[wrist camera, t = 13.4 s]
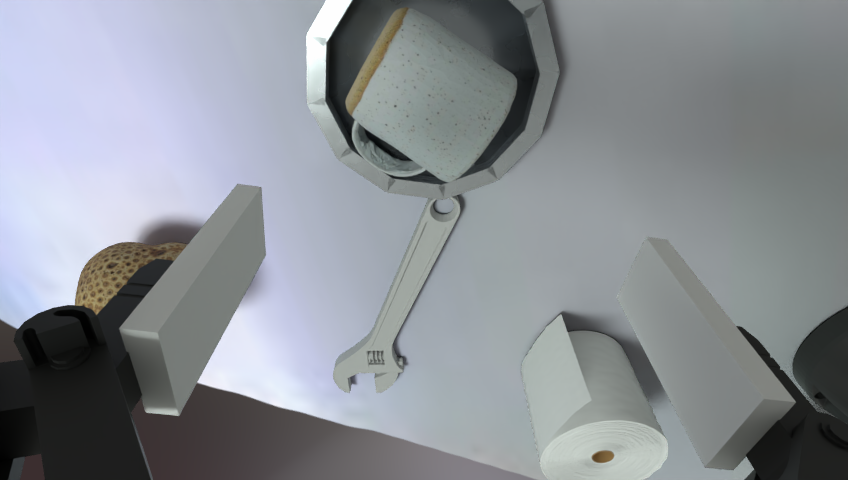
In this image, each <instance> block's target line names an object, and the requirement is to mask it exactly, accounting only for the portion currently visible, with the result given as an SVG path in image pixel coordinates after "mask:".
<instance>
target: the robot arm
mask: <svg viewBox="0 0 848 480" xmlns="http://www.w3.org/2000/svg"><path fill="white" fill-rule="evenodd" d="M265 256H266V250H265V235H264V220H263V205H262V190H261V187H257V186H249V185H242V184H237V185H236V186H235V188H234V189H233V190H232V191H231V193H230V194H229V195H228V196H227V197H226V199H225V200H224V201H223V202H222V204H221V205H220V206H219V207H218V208H217V210H216V211H215V212H214V213H213V214H212V216H211V217H210V218H209V219H208V221H207V222H206V223H205V224H204V225H203V227H202V228H201V229H200V230H199V232H198V233H197V234H196V235H195V236H194V238H193V239H192V240H191V241H190V243H189V244H188V245H187V246H186V247H185V249H184V250H183V251H182V252H181V253H180V255H179V256H178V257H177V258H176V260H175V261H173V260H165V259H155V260H153V261H151V262H150V263H148V264H146V265H144V266H143V267H141V268H139V269H138V270H137V271H136V272H135V273H134V274H133V275H132V277H131V278H130V279H129V280H128V281H127V283H126V285H123V286H122V288H121V289H120V290H119V291H118V292H117V295H116V296H115V295H114V296H113V297H112V299H111V300H110V301H109V302H108V303H107V304H106V305H105V306H104V307H103V308H102V309H101V311H100V312H99V313H98V314H97V315H96V314H95V312H94V311H93V310H92V309H90V308H87V307H84V306H76V305H67V306H61V307H56V308H52V309H49V310H46V311H44V312H41V313H38V314H36V315H35V316H33V317H32V318H30V319H29V320H27V321H25V322H24V323H23V324H22V325H21V327H20V328H19V329H18V330H17V331H16V334H15V338H14V342H15V344H16V346H17V348H18V350H19V352H20V354H21V356H22V358H23V360H17V361H10V362H2V363H0V480H20V477H21V472H22V468H23V464H24V460H25V457H26V456H30V455H36V454H41V455H42V462H43V469H44V476H45V480H153V478H152V475H151V472H150V469H149V466H148V462H147V460H146V456H145V453H144V450H143V447H142V444H141V441H140V438H139V435H138V432H137V429H136V426H135V423H134V420H133V417H132V414H131V412H132V410H133V409H134V407H135V406H136V404H137V403H138V401H139V399H140V398H142V402H143V405H144V408H145V411H146V412H148V413H158V414H168V415H178V416H179V415H180V413H181V411H182V409H183V407H184V405H185V404H186V402H187V400H188V398H189V396H190V394H191V392H192V391H193V389H194V387H195V385H196V383H197V381H198V380H199V378H200V376H201V374H202V372H203V370H204V368H205V367H206V365H207V363H208V361H209V359H210V357H211V355H212V354H213V352H214V350H215V348H216V346H217V344H218V343H219V341H220V339H221V337H222V335H223V333H224V331H225V330H226V328H227V326H228V324H229V322H230V320H231V319H232V317H233V315H234V313H235V311H236V309H237V307H238V306H239V304H240V302H241V300H242V298H243V296H244V295H245V293H246V291H247V289H248V287H249V285H250V283H251V282H252V280H253V278H254V276H255V274H256V272H257V270H258V269H259V267H260V265H261V263H262V261H263V259H264V258H265ZM617 299H618V301H619V303H620V305H621V307H622V309H623V311H624V313H625V315H626V317H627V318H628V320H629V322H630V324H631V326H632V328H633V330H634V332H635V334H636V336H637V338H638V340H639V342H640V344H641V345H642V347H643V349H644V351H645V353H646V355H647V357H648V359H649V361H650V363H651V365H652V367H653V369H654V371H655V372H656V374H657V376H658V378H659V380H660V382H661V384H662V386H663V388H664V390H665V392H666V394H667V396H668V398H669V399H670V401H671V403H672V405H673V407H674V409H675V411H676V413H677V415H678V417H679V419H680V421H681V423H682V425H683V426H684V428H685V430H686V432H687V434H688V436H689V438H690V440H691V442H692V444H693V446H694V448H695V450H696V452H697V453H698V455H699V457H700V459H701V461H702V463H703V465H704V467H705V468H715V469H725V470H734V469H735V468H736V467H737V466H738V465H739V464H740V462H741V461H742V460H743V459H744V458H745V457H746V456H747V458H748V460H749V461H750V463H751V465H752V466H753V468H754V470H753V471H752V472H751V473H750V474H749V475H748V476H747V478H746V479H745V480H848V308H847V309H845V310H843V311H841V312H839V313H838V314H836V315H834V316H833V317H831V318H830V319H828V320H827V321H826V322H824V323H823V324H822V325H820V326H819V327H818V328H817V329H816V330H815V331H813V332H812V333H811V334H810V335H809V336H808V338H807V339H806V340H805V341H804V342H803V344H802V345H801V346H800V348H799V350H798V351H797V353H796V356H795V358H794V362H793V374H794V377H795V379H796V381H797V382H798V384H799V385H800V386H801V387H802V388H803V390H804V391H805V392H806V393H807V394H808V396H809V397H810V398H811V399H812V400H813V401H814V402H815V403H816V404H818V405H819V406H820V407H822V408H823V409H825V410H826V411H828V412H829V413H831V414H832V415H834V416H835V417H837V418H835V417H833V416H831V415H829V414H825V413H820V412H817V411H816V410H815V409H814V408H813V406H812V405H811V404H810V403H809V401H808V400H807V399H806V398H805V397H804V395H803V394H802V393H801V392H800V390H799V389H798V388H797V387H796V386H795V384H794V383H793V382H792V381H791V380H790V378H789V377H788V376H787V375H786V373H785V372H784V371H783V370H780V366H779V365H778V364H777V362H776V361H775V360H774V359H773V358H770V354H769V353H768V352H767V350H766V349H765V348H764V347H763V345H762V344H761V343H760V342H759V341H758V340H757V339H756V338H755V337H753V336H752V335H751V334H750V333H748V332H747V331H746V330H745V329H743V328H742V327H739V326H735V324H734V323H733V322H732V321H731V319H730V318H729V317H728V316H727V314H726V313H725V312H724V311H723V309H722V308H721V307H720V305H719V304H718V303H717V302H716V300H715V299H714V298H713V297H712V295H711V294H710V293H709V292H708V290H707V289H706V288H705V287H704V285H703V284H702V283H701V282H700V280H699V279H698V278H697V276H696V275H695V274H694V273H693V271H692V270H691V269H690V268H689V266H688V265H687V264H686V263H685V261H684V260H683V259H682V258H681V256H680V255H679V254H678V252H677V251H676V250H675V249H674V247H673V246H672V245H671V244H670V242H669V241H668V240H666V239H658V238H650V237H646V238H645V240H644V242H643V244H642V246H641V248H640V250H639V253H638V255H637V257H636V259H635V261H634V263H633V265H632V267H631V269H630V271H629V273H628V275H627V277H626V279H625V281H624V283H623V285H622V287H621V290H620V292H619V294H618V296H617Z"/></svg>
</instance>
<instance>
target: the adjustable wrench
mask: <svg viewBox="0 0 848 480" xmlns="http://www.w3.org/2000/svg"><path fill="white" fill-rule="evenodd" d="M449 199H451V200H452V201H453V203H454V208H453V210H452V211H451V212H450V213H447V214H439V213H437V212H435V210H434V208H433V204H434V202H435V200H437V199H433V198H428V201H427V203H426V205H425V208H424V210H423V212H422V215H421V217H420V219H419V222H418V224H417V226H416V229H415V231H414V233H413V236H412V238H411V240H410V243H409V245H408V247H407V250H406V252H405V254H404V257H403V259H402V261H401V264H400V266H399V269H398V271H397V273H396V276H395V278H394V280H393V283H392V285H391V287H390V290H389V292H388V294H387V297H386V299H385V301H384V304H383V306H382V308H381V311H380V313H379V315H378V318H377V320H376V322H375V325H374V327H373V328H372V330H371V332H370V333H369V334H368V335H367V336H366V337H365V338H364V339H362V340H361V341H360V342H359V343H357V344H356V345H355V346H353V347H352V348H350V349H349V350H347V351H346V352H344V353H342V354H341V355H340V356H339V357H338V359H337V360H336V363H335V367H334V372H333V379H334V381H335V383H336V384H337V386H338V387H339V388H340V389H341V390H343V391H344V392H347V393H350V390H351V384H352V383H351V376H354V375H356V374H358V373H375V384H376V392H377V393H381V392H383V391H385V390H387V389H388V388H389V387H391V386H392V385H393V383H394V382H395V380H396V379H397V376H398V374H399V373H401V372H403V368H404V363H403V357H398V356H397V355H396V353H395V350H394V348H393V342H394V339H395V337H396V335H397V333H398V332H399V330H400V328H401V326H402V324H403V322H404V320H405V318H406V316H407V314H408V312H409V310H410V309H411V307H412V305H413V303H414V301H415V299H416V297H417V295H418V293H419V291H420V289H421V287H422V286H423V284H424V282H425V280H426V278H427V276H428V274H429V272H430V270H431V268H432V266H433V264H434V262H435V261H436V259H437V257H438V255H439V253H440V251H441V249H442V247H443V245H444V243H445V241H446V239H447V238H448V236H449V234H450V232H451V230H452V228H453V226H454V224H455V222H456V220H457V218H458V216H459V214H460V202H459V199H458V196H457V195H456V196H453V197H450V198H449Z"/></svg>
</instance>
